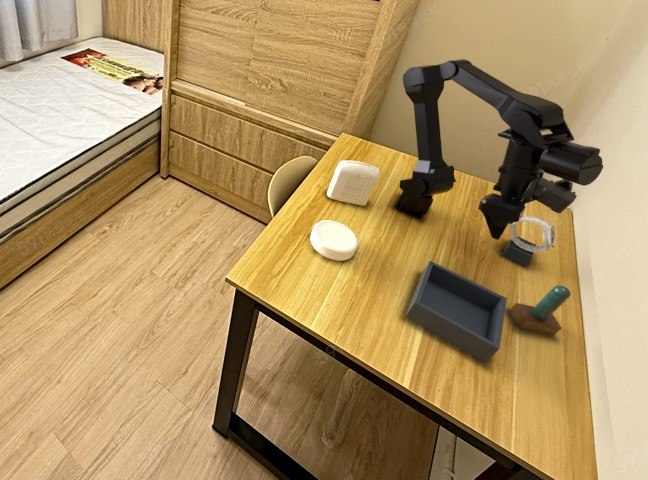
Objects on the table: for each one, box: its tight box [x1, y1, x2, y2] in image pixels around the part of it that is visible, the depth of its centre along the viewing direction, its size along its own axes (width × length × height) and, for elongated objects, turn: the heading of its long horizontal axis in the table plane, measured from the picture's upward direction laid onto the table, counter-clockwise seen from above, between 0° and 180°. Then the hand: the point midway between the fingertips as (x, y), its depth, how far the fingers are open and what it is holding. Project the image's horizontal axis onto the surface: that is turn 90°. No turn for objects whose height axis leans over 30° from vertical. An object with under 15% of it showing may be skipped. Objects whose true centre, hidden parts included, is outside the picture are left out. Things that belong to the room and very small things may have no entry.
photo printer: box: [326, 160, 380, 207], centre depth 107 cm, size 10×4×12 cm, turn 73°
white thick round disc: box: [309, 219, 359, 262], centre depth 96 cm, size 10×10×4 cm
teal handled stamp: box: [508, 284, 572, 337], centre depth 77 cm, size 6×4×12 cm, turn 76°
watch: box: [501, 215, 556, 267], centre depth 92 cm, size 6×8×11 cm
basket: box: [404, 260, 508, 364], centre depth 81 cm, size 14×14×5 cm
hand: (502, 230), depth 86 cm, fingers open, 9 cm apart
